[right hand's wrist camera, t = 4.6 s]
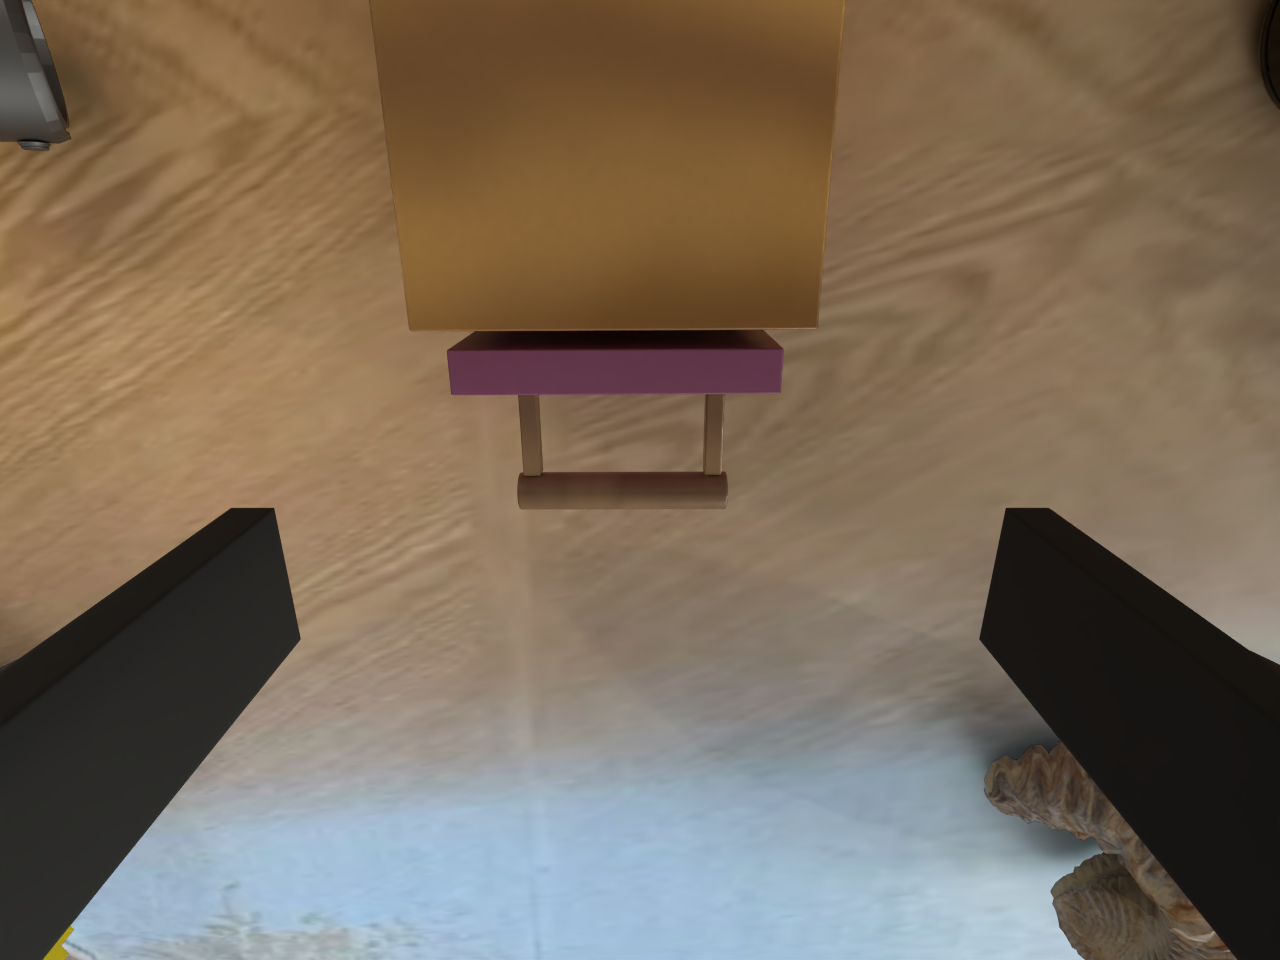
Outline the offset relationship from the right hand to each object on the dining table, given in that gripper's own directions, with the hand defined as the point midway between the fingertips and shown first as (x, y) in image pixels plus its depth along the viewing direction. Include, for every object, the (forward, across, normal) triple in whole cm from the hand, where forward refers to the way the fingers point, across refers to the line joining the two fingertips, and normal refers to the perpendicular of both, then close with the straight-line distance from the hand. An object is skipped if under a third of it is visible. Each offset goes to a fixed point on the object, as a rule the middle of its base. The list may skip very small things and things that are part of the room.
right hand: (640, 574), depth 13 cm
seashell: (+17, -24, +24) cm, 38 cm away
